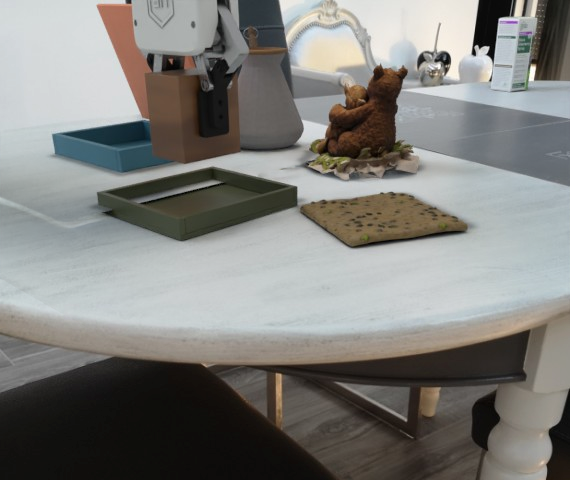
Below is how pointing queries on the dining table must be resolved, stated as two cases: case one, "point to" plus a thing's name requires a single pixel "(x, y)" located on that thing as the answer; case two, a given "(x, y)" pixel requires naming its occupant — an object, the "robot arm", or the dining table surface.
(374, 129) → the bear figurine
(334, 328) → the dining table surface
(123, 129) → the tray
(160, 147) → the block
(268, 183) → the tray
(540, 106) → the dining table surface
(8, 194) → the dining table surface
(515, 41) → the syrup box
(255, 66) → the grey lidded jar
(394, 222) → the cookie
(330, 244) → the dining table surface
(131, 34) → the lunchbox lid
